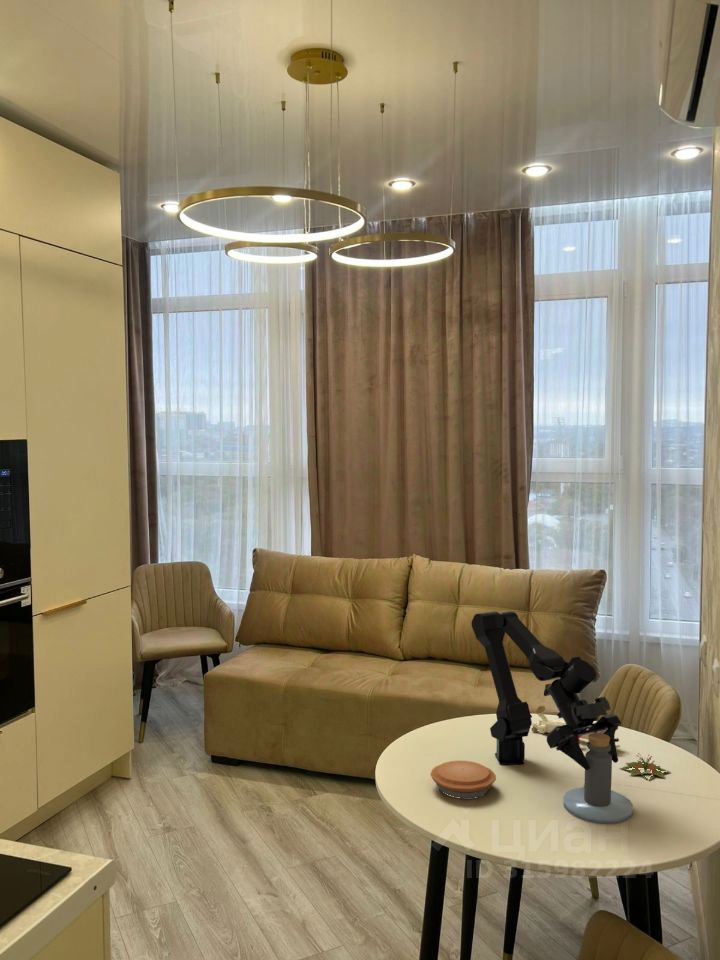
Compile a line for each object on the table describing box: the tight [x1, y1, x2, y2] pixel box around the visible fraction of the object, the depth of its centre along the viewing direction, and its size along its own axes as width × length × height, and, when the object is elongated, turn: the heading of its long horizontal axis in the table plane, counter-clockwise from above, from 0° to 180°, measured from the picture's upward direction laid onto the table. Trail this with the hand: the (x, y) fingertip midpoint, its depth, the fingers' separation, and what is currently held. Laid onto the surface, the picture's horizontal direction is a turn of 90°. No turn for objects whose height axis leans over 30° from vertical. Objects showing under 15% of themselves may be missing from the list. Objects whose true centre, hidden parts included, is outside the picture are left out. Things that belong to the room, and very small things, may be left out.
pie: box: [429, 760, 497, 799], centre depth 191 cm, size 15×16×5 cm
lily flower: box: [619, 752, 670, 782], centre depth 201 cm, size 12×12×5 cm
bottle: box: [583, 733, 613, 807], centre depth 180 cm, size 6×6×15 cm
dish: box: [563, 786, 634, 824], centre depth 181 cm, size 15×15×2 cm
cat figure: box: [531, 704, 621, 752], centre depth 221 cm, size 10×9×25 cm
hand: (602, 765), depth 179 cm, fingers open, 8 cm apart
